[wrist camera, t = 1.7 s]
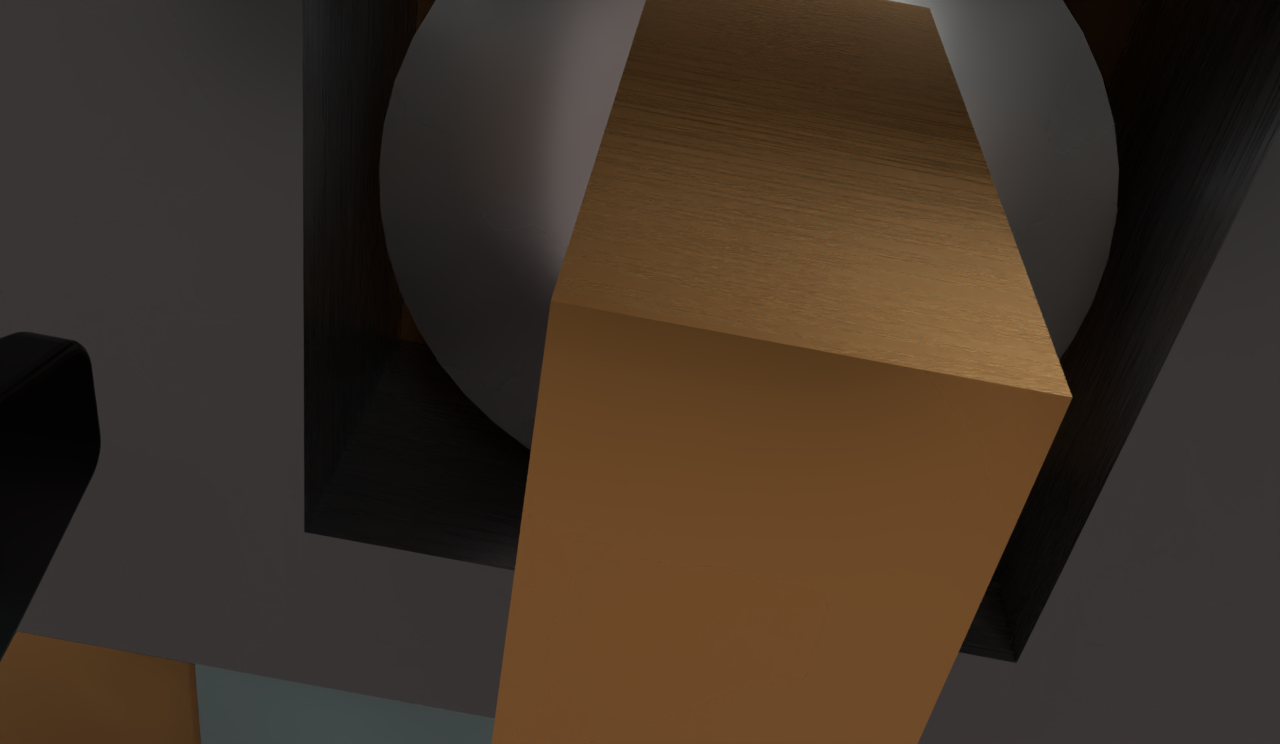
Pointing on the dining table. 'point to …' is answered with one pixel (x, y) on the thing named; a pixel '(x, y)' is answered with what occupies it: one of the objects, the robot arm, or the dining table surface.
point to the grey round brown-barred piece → (751, 335)
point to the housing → (498, 463)
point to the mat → (320, 715)
